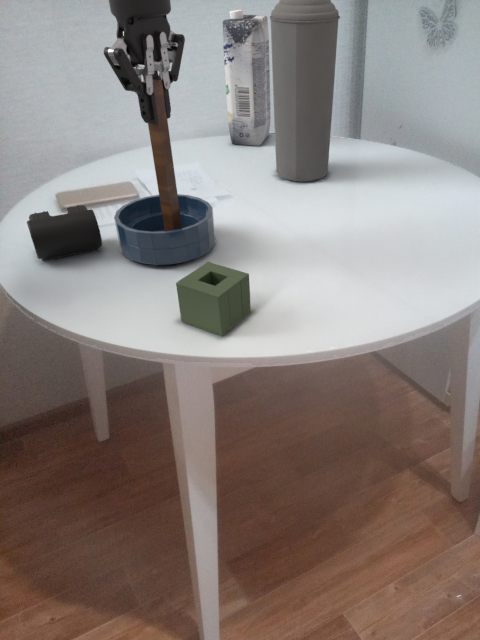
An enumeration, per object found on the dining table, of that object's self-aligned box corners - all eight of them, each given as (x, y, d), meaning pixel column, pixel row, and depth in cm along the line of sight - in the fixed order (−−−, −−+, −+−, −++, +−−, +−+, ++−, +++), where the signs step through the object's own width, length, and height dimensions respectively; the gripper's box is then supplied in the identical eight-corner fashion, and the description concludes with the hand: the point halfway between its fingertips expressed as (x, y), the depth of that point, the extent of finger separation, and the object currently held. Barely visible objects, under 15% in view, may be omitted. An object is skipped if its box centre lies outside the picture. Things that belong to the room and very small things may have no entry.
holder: (222, 336, 73) (218, 296, 69) (181, 321, 75) (175, 282, 72) (251, 312, 77) (249, 273, 73) (211, 299, 80) (207, 261, 76)
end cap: (41, 269, 87) (28, 228, 83) (35, 250, 92) (23, 211, 88) (105, 255, 90) (96, 216, 86) (96, 238, 95) (87, 200, 91)
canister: (260, 177, 118) (254, -28, 95) (293, 160, 126) (294, -32, 104) (312, 189, 112) (318, -25, 90) (342, 170, 120) (355, -30, 98)
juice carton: (273, 135, 141) (270, 7, 123) (262, 148, 133) (258, 13, 116) (239, 133, 142) (232, 6, 125) (226, 145, 134) (217, 12, 117)
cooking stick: (174, 236, 88) (152, 83, 74) (165, 234, 89) (141, 81, 75) (182, 232, 90) (162, 80, 76) (173, 229, 90) (151, 78, 77)
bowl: (174, 278, 85) (169, 241, 81) (101, 254, 91) (93, 219, 87) (233, 239, 95) (231, 205, 91) (164, 220, 101) (159, 187, 97)
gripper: (150, -36, 74) (168, 106, 85) (69, -28, 65) (102, 129, 76) (195, -35, 71) (208, 112, 82) (117, -27, 62) (143, 137, 73)
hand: (157, 119), depth 79 cm, fingers closed on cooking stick, 2 cm apart
